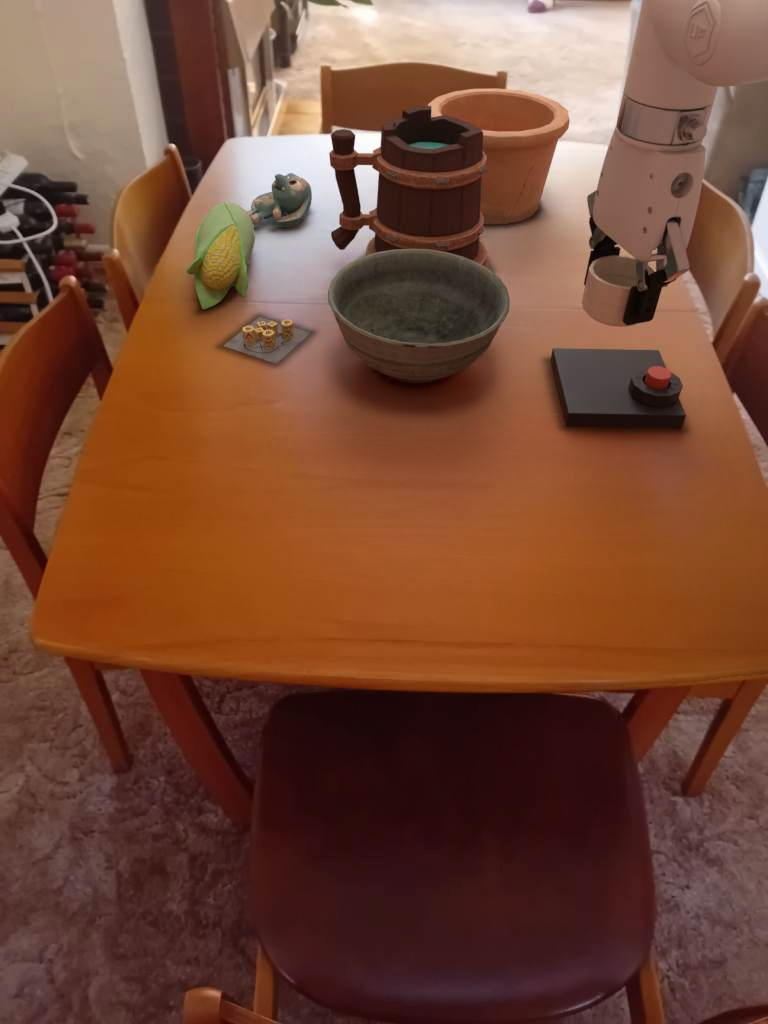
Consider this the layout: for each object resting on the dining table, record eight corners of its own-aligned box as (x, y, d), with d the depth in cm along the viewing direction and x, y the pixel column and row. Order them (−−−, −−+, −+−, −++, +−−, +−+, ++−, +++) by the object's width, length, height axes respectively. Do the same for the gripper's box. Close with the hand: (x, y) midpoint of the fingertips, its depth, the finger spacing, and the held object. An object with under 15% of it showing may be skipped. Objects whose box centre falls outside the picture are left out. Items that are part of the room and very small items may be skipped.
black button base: (655, 363, 98) (662, 338, 95) (682, 428, 88) (690, 403, 86) (550, 361, 98) (554, 336, 95) (565, 426, 88) (571, 401, 86)
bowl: (422, 302, 107) (426, 232, 100) (535, 371, 96) (549, 298, 89) (297, 355, 98) (291, 281, 91) (406, 439, 87) (409, 362, 80)
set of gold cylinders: (296, 334, 101) (295, 321, 100) (273, 353, 98) (272, 340, 97) (263, 324, 103) (262, 311, 102) (240, 342, 100) (238, 329, 98)
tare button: (664, 377, 90) (668, 366, 89) (670, 391, 88) (674, 379, 87) (642, 377, 90) (645, 365, 89) (647, 390, 88) (650, 379, 87)
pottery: (549, 179, 138) (563, 90, 128) (558, 236, 122) (575, 139, 112) (425, 173, 139) (430, 84, 129) (418, 229, 123) (423, 132, 113)
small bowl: (625, 290, 85) (635, 251, 81) (661, 322, 80) (673, 282, 77) (569, 300, 83) (577, 260, 80) (602, 334, 78) (612, 293, 75)
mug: (335, 238, 121) (330, 97, 107) (484, 240, 121) (498, 99, 107) (328, 299, 108) (322, 148, 94) (494, 301, 108) (513, 150, 94)
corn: (271, 210, 116) (258, 280, 102) (244, 252, 121) (229, 324, 107) (220, 178, 113) (200, 245, 99) (195, 222, 117) (172, 293, 103)
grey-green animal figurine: (221, 184, 121) (281, 150, 125) (234, 225, 127) (291, 192, 131) (262, 206, 116) (324, 170, 120) (274, 249, 121) (332, 213, 126)
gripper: (763, 150, 63) (698, 341, 76) (644, 84, 75) (605, 259, 88) (684, 161, 62) (630, 354, 74) (574, 91, 73) (544, 269, 86)
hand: (617, 301), depth 81 cm, fingers closed on small bowl, 6 cm apart
